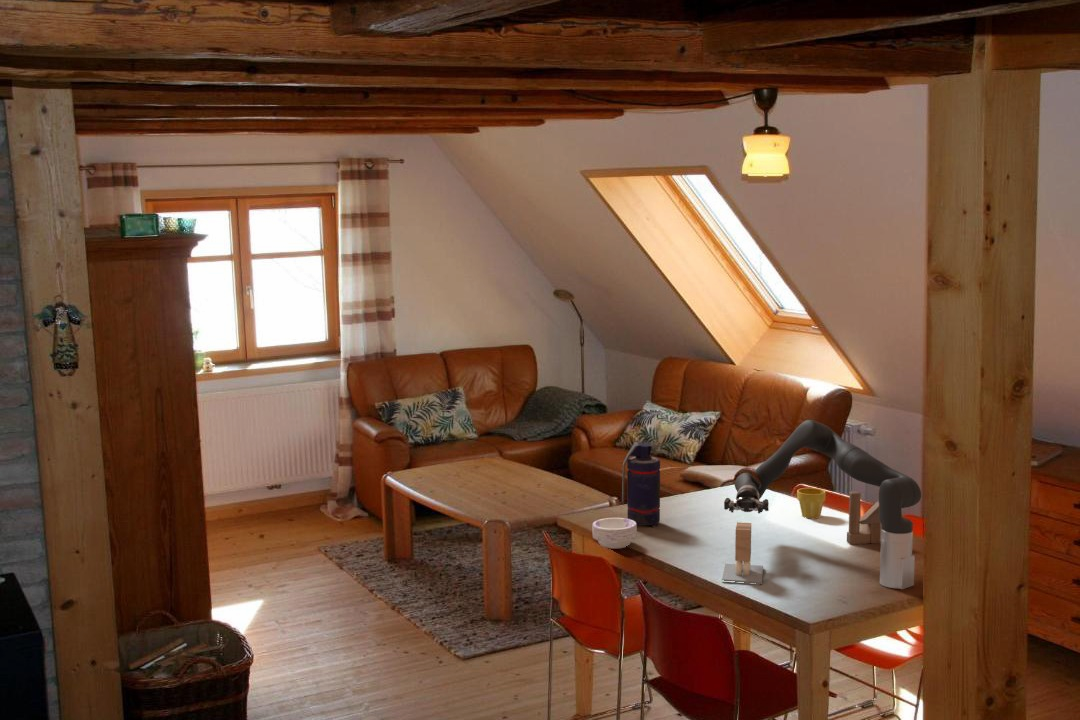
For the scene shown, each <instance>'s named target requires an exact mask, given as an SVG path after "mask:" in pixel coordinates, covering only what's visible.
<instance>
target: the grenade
mask: <svg viewBox="0 0 1080 720" xmlns="http://www.w3.org/2000/svg"><path fill="white" fill-rule="evenodd" d="M652 448H653V446H652V444H651V442H646V441H635V442H633V444H632V445H631V447H630V448H629V451H628V452H627V454H626V456H625V459H624V460H623V463H622V483H621V484H622V485H621V486H622V487H621V488H622V489H621V491H622V492H621V501H622V502H621V503H622V504H624V503H625V482H626V481H625V479H627V487H626V488H627V489H626V491H627V495H626V496H627V502H626V504H627V505H626V506H627V512H626V513H627V518H626V519H630V520H633V521H635V522H636V524H637V527H638V526H655V527H656V526H657V525H658V524H659V523H660V521H661V517H660V516H661V515H660V514H661V509H660V508H661V460H660V458H658V457H654V456H652V455H651V452H652ZM626 464H627V471H626ZM625 472H626V473H627V478H625V477H626V475H625V474H626V473H625Z"/></svg>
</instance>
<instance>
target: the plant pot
mask: <svg viewBox="0 0 1080 720" xmlns="http://www.w3.org/2000/svg"><path fill="white" fill-rule="evenodd" d="M796 491H797V492H796V498H797V500H798V501H799V507H800V512H801V516H802V517H803V518H805V517H806V518H805V519H811V518H814V519H819V518H820V517H821V514H822V510H823V506H824V502H825V501H826V496H827V495H826V490H824V489H822V488H816V487H802V488H798V489H797V490H796Z"/></svg>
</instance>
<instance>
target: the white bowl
mask: <svg viewBox="0 0 1080 720" xmlns="http://www.w3.org/2000/svg"><path fill="white" fill-rule="evenodd" d="M591 526H592V527H591V528H592V538H593V539H594V540H596V541H597V542H598V544H599V545H600V546H601V547H603V548H606V549H612V550H613V549H614V550H615V549H616V550H617V549H618V550H619V549H623V548H624V549H625V548H627V547H629V546H630V544H631V542H632V541H634V540H636V538H637V535H638V533H637V530H638V529H637V527H638V526H637V524H636V522H635V521H633V520H630V519H627V518H624V517H606V518H600V519H597V520H595V521H593V523H592V525H591ZM628 545H629V546H628ZM626 546H627V547H626Z"/></svg>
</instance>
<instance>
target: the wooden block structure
mask: <svg viewBox="0 0 1080 720" xmlns="http://www.w3.org/2000/svg"><path fill="white" fill-rule="evenodd" d="M861 494H862V493H861V492H860V491H858V490H857V491H856V490H854V491H852V490H851V491H850V492H849V506H848V510H849V511H848V531H846V542H847V544H849V545H850V546H851V545H867V544H866V543H880V544H881V521H880V517H879V500H877V501H876V502H875V503H874V504H873V505H872V506H871V507H870V508H868V510H867V511H866V512H865V513H864V514H863V515H862V516H861ZM860 525H867V527H866V531H860V529H861V528H860V527H861V526H860Z"/></svg>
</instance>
